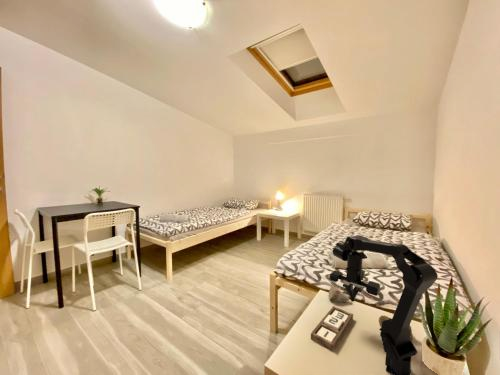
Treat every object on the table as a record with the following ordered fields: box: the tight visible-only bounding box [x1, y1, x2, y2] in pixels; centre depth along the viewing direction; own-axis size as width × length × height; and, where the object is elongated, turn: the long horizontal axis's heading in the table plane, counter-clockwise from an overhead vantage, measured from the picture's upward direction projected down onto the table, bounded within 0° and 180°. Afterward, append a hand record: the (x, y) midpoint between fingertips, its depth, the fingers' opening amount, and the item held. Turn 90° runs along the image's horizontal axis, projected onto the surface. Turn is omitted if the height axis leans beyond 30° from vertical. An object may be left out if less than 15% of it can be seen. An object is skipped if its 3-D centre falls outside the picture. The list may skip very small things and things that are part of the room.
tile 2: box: [324, 315, 343, 331], centre depth 93 cm, size 6×6×2 cm
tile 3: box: [332, 310, 348, 322], centre depth 99 cm, size 6×6×2 cm
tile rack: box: [310, 305, 354, 352], centre depth 93 cm, size 9×24×2 cm, turn 139°
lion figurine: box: [378, 315, 414, 342], centre depth 89 cm, size 15×5×9 cm, turn 95°
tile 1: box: [317, 327, 336, 342], centre depth 87 cm, size 6×6×2 cm
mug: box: [328, 285, 350, 303], centre depth 113 cm, size 8×10×10 cm
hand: (352, 301), depth 92 cm, fingers closed
